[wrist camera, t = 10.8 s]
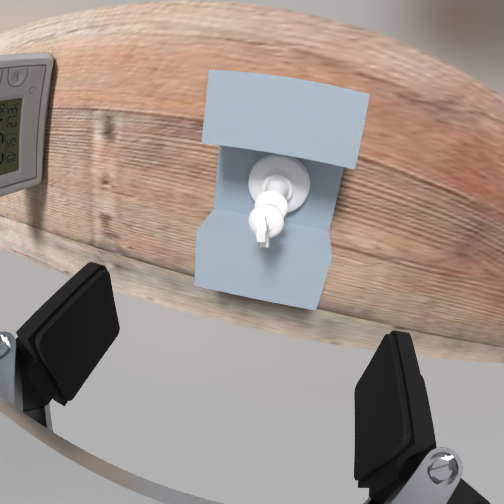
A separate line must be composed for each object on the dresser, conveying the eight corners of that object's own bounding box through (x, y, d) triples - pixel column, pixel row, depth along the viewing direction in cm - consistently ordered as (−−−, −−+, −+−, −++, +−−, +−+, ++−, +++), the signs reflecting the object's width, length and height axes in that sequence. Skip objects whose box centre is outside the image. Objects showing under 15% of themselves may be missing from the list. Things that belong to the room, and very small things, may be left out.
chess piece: (252, 213, 26) (222, 279, 17) (245, 155, 23) (205, 195, 15) (311, 210, 25) (311, 278, 16) (307, 151, 22) (307, 188, 14)
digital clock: (45, 189, 30) (-18, 226, 21) (7, 162, 29) (-52, 191, 20) (77, 59, 22) (-3, 63, 13) (32, 46, 21) (-39, 52, 12)
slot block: (355, 92, 21) (370, 90, 15) (315, 273, 29) (314, 312, 24) (232, 72, 21) (209, 66, 16) (214, 253, 30) (194, 288, 25)
